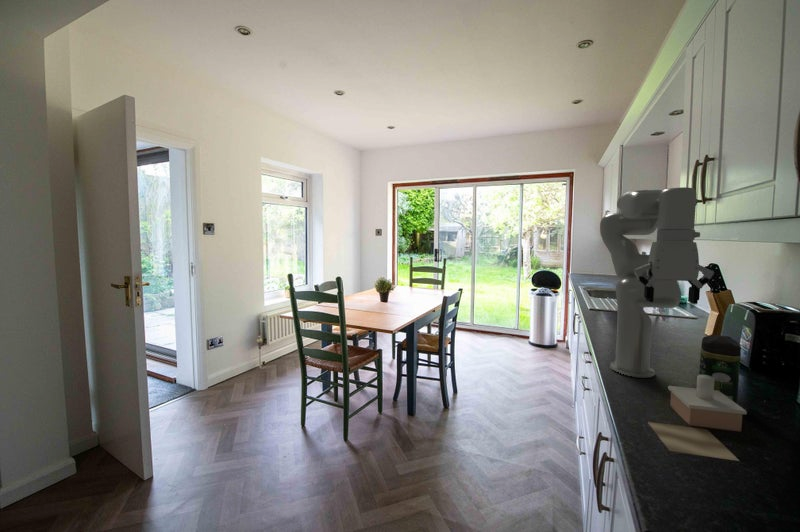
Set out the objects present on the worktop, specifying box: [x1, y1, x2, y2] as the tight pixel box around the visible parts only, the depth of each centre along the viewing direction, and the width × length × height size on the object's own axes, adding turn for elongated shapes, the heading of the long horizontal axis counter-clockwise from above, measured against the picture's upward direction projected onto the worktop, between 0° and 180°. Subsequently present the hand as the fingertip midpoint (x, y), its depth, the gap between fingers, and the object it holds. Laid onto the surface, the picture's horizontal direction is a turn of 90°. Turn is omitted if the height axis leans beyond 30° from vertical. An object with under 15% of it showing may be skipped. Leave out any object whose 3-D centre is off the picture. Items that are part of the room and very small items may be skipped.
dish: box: [669, 391, 743, 433], centre depth 87 cm, size 10×10×5 cm
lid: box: [667, 374, 748, 415], centre depth 86 cm, size 11×11×6 cm
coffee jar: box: [698, 333, 742, 404], centre depth 94 cm, size 10×8×19 cm
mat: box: [647, 421, 740, 462], centre depth 78 cm, size 12×12×1 cm
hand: (670, 302), depth 92 cm, fingers open, 9 cm apart
